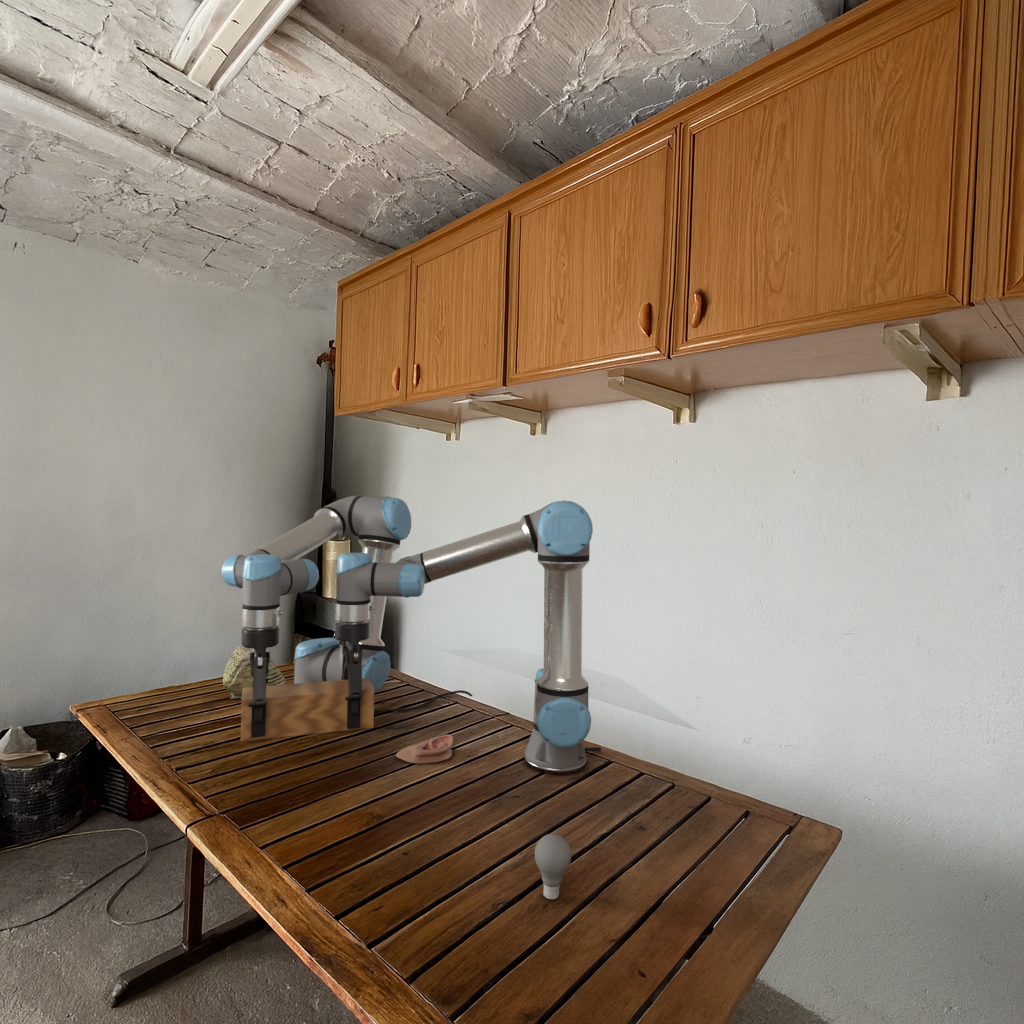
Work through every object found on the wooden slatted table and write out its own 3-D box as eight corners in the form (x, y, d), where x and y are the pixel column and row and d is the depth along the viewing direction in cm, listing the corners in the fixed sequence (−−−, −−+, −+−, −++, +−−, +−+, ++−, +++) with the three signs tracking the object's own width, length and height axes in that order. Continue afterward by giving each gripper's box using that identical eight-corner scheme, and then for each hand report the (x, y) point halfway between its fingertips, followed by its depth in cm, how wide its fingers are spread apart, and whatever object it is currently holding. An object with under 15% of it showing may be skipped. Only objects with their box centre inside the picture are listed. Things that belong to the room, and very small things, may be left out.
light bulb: (530, 885, 106) (533, 826, 106) (566, 885, 106) (568, 826, 106) (534, 909, 100) (537, 846, 100) (572, 908, 100) (575, 846, 100)
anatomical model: (391, 744, 153) (408, 727, 164) (390, 760, 153) (407, 743, 164) (443, 750, 150) (457, 733, 162) (443, 767, 150) (457, 749, 162)
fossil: (218, 695, 195) (220, 647, 195) (278, 685, 208) (279, 640, 207) (228, 703, 189) (230, 653, 188) (289, 692, 201) (290, 645, 201)
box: (240, 741, 131) (241, 699, 131) (242, 726, 139) (242, 687, 139) (373, 727, 141) (374, 688, 141) (367, 714, 149) (368, 678, 149)
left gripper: (281, 639, 126) (278, 744, 126) (277, 615, 149) (275, 704, 150) (240, 641, 123) (237, 749, 124) (243, 616, 146) (240, 707, 147)
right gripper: (377, 630, 134) (375, 735, 135) (362, 612, 154) (360, 704, 155) (341, 632, 131) (338, 739, 132) (330, 613, 152) (328, 706, 152)
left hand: (258, 724), depth 137 cm, fingers open, 13 cm apart
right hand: (350, 720), depth 143 cm, fingers closed on box, 9 cm apart
